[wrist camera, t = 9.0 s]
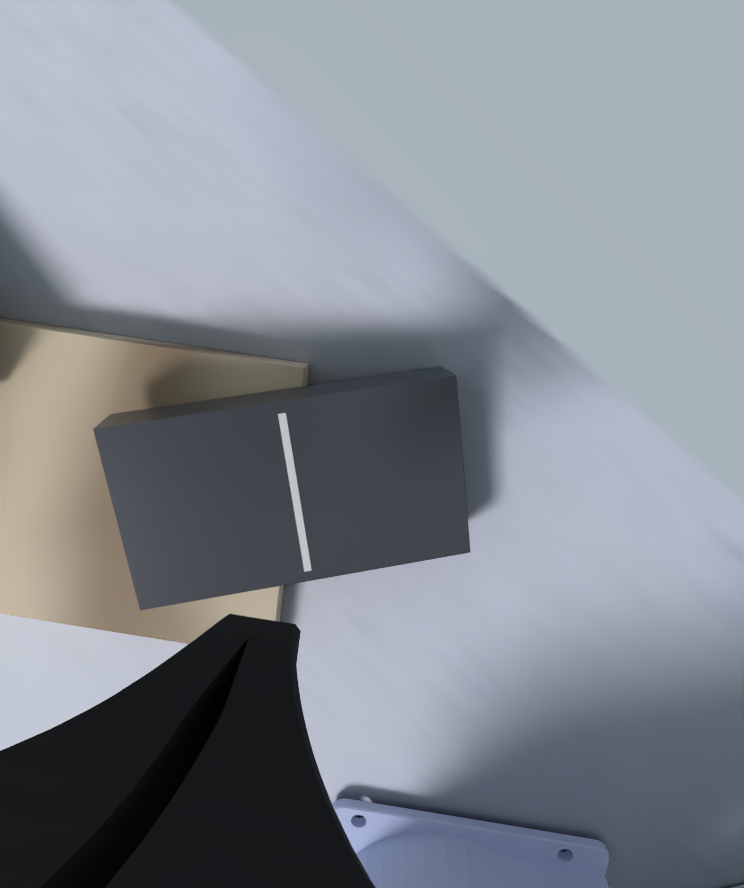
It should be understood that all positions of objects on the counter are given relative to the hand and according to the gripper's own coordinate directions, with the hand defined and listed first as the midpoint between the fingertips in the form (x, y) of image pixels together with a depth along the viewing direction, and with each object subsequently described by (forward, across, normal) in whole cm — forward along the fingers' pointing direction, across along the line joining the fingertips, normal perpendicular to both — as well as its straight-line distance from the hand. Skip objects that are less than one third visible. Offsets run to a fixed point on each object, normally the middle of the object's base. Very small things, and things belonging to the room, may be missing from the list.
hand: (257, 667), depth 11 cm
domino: (+5, +5, 0) cm, 7 cm away
